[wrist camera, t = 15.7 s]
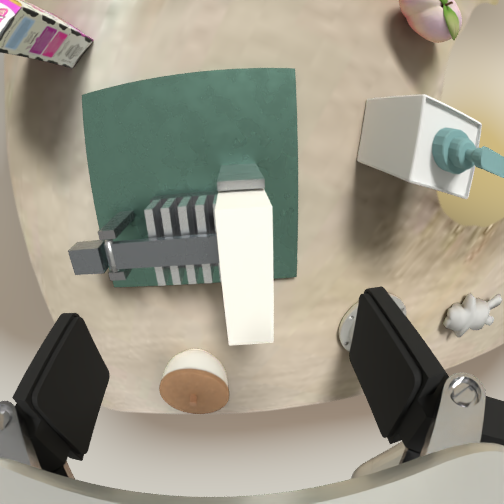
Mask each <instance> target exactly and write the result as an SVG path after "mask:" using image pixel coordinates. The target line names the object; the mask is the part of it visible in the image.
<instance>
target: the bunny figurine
mask: <svg viewBox="0 0 504 504" xmlns="http://www.w3.org/2000/svg"><path fill="white" fill-rule="evenodd" d="M501 302H502V298H501V295H500V294H497V295H496V296H495V297H493V298H492V299H491V300H489V301H488V302H486V301H484V300H482V299H480V298H475V297H474V296H473V295H472V294H471V293H469V294H467V296H466V298H465V299H464V301H463V303H462V304H459V303H454V304H453V305H452V307H451V308H449V309H448V312H447V317H446V318H445V320H444V323H443V324H444V326H445V327H446V328H449V329H451V330H453V331H454V333H455V334H456V336H457V337H461V336H462V335H463V334H464V333H465V332H466V331H467V330H468V329H469V328H470V329H472V330H479V329H482V327H483V326H484V324H486V325H491V324H492V323H493V321H494V317H492V316H489V312H490V310H491V309H493V308H495V307H497V306H498V305H500V303H501Z"/></svg>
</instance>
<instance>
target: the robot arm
mask: <svg viewBox="0 0 504 504" xmlns="http://www.w3.org/2000/svg"><path fill="white" fill-rule="evenodd" d="M339 339H340V341H341V344H342V345H343V347H344V348H345V349H346V350H347V351H349V352H350V353H349V356H350V361H351V364H352V366H353V368H354V371H355V373H356V375H357V377H358V380H359V382H360V384H361V387H362V389H363V391H364V394H365V396H366V398H367V401H368V403H369V405H370V408H371V410H372V413H373V415H374V418H375V420H376V422H377V425H378V427H379V430H380V432H381V434H382V436H383V437H384V438H386V437H387V438H388V440H389V443H390V444H392V443H395V442H398V441H400V440H402V442H400V443H398V444H397V445H395V446H393V447H392V448H390V449H389V450H387V451H385V452H383V453H381V454H379V455H377V456H376V457H374V458H372V459H370V460H369V461H367V462H365V463H363V464H362V465H360V466H359V467H358V468H357V469H356V470H355V471H354V473H353V475H352V477H351V479H349V480H345V481H341V482H338V483H333V484H328V485H324V486H319V487H314V488H308V489H302V490H297V491H289V492H282V493H274V494H266V495H265V494H264V495H253V496H237V497H184V496H169V495H158V494H149V493H141V492H133V491H126V490H121V489H115V488H110V487H105V486H100V485H96V484H91V483H87V482H83V481H79V480H75V478H74V476H73V474H72V472H71V470H70V468H69V466H68V463H67V461H66V460H67V457H69V458H72V459H76V460H80V461H82V460H83V456H84V454H86V453H87V451H88V448H89V444H90V441H91V437H92V433H93V430H94V426H95V423H96V419H97V416H98V412H99V410H100V406H101V403H102V400H103V397H104V394H105V391H106V387H107V384H108V381H109V371H108V369H107V367H106V365H105V363H104V361H103V359H102V357H101V355H100V353H99V351H98V349H97V347H96V345H95V343H94V341H93V339H92V337H91V335H90V333H89V331H88V328H87V326H86V324H85V322H84V320H83V318H81V317H80V316H79V315H78V314H77V313H63V314H61V315H60V317H59V318H58V320H57V321H56V323H55V324H54V326H53V328H52V329H51V331H50V332H49V334H48V336H47V337H46V339H45V340H44V342H43V344H42V345H41V347H40V348H39V350H38V352H37V354H36V355H35V357H34V359H33V361H32V362H31V364H30V366H29V367H28V369H27V371H26V373H25V375H24V377H23V378H22V380H21V382H20V384H19V386H18V388H17V390H16V392H15V394H14V396H13V399H14V400H15V401H16V402H17V404H16V406H14V405H13V404H12V403H11V402H9V401H1V402H0V504H504V401H501V400H497V399H494V398H490V397H487V396H486V393H485V389H484V386H483V384H482V383H481V382H480V380H479V379H477V378H476V377H475V376H473V375H471V374H468V373H457V374H454V375H452V376H450V377H449V376H448V375H447V373H446V372H445V370H444V369H443V367H442V366H441V364H440V363H439V361H438V360H437V358H436V357H435V356H434V354H433V353H432V351H431V350H430V348H429V347H428V346H427V344H426V343H425V341H424V340H423V339H422V337H421V336H420V334H419V333H418V332H417V330H416V329H415V328H414V326H413V325H412V324H411V322H410V321H409V320H408V318H407V317H406V308H405V305H404V303H403V302H402V301H401V299H400V298H399V297H397V296H396V295H394V294H391V293H388V292H387V291H386V290H385V289H384V288H383V287H375V288H369V289H366V290H365V291H364V294H361V295H360V297H359V302H357V303H356V304H355V305H354V306H352V307H351V308H350V310H349V311H348V312H347V313H346V314H345V316H344V317H343V319H342V321H341V323H340V327H339Z"/></svg>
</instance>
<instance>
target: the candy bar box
mask: <svg viewBox="0 0 504 504" xmlns="http://www.w3.org/2000/svg"><path fill="white" fill-rule="evenodd" d="M92 42H93V39H91V38H90V37H88V36H87V35H85V34H84V33H83V32H81V31H80V30H78V29H77V28H75V27H74V26H72V25H70V24H69V23H67V22H66V21H64V20H62V19H61V18H59V17H57V16H55V15H54V14H52V13H50V12H48V11H46V10H43V9H41V8H39V7H37V6H35V5H33V4H30V3H28V2H26V1H23V0H0V52H2V53H7V54H12V55H18V56H23V57H28V58H32V59H38V60H41V61H45V62H50V63H54V64H58V65H62V66H65V67H69V68H73V67H74V66H75V64H76V63H77V62H78V60H79V59H80V57H81V56H82V55H83V54H84V52H85V51H86V50H87V49H88V48H89V46H90V45H91V44H92Z"/></svg>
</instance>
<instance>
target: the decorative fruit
mask: <svg viewBox="0 0 504 504" xmlns="http://www.w3.org/2000/svg"><path fill="white" fill-rule="evenodd" d="M399 4H400V9H401V11H402V13H403V15H404V16H405V17H406V18H407V22H408V24H409V25H410V27H411V28H412V29H413V30H414V31H415V32H416V33H418V34H419V35H420V36H422V37H423V38H425V39H426V40H429V41H431V42H437V43H439V42H444V41H447V40H449V39H451V38H452V39H453V40H455V38H456V37H457V35H458V32H459V31H460V29H461V26H462V17H461V13H460V10H459V8H458V6H457V4H456V2H455V1H454V0H399Z"/></svg>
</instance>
